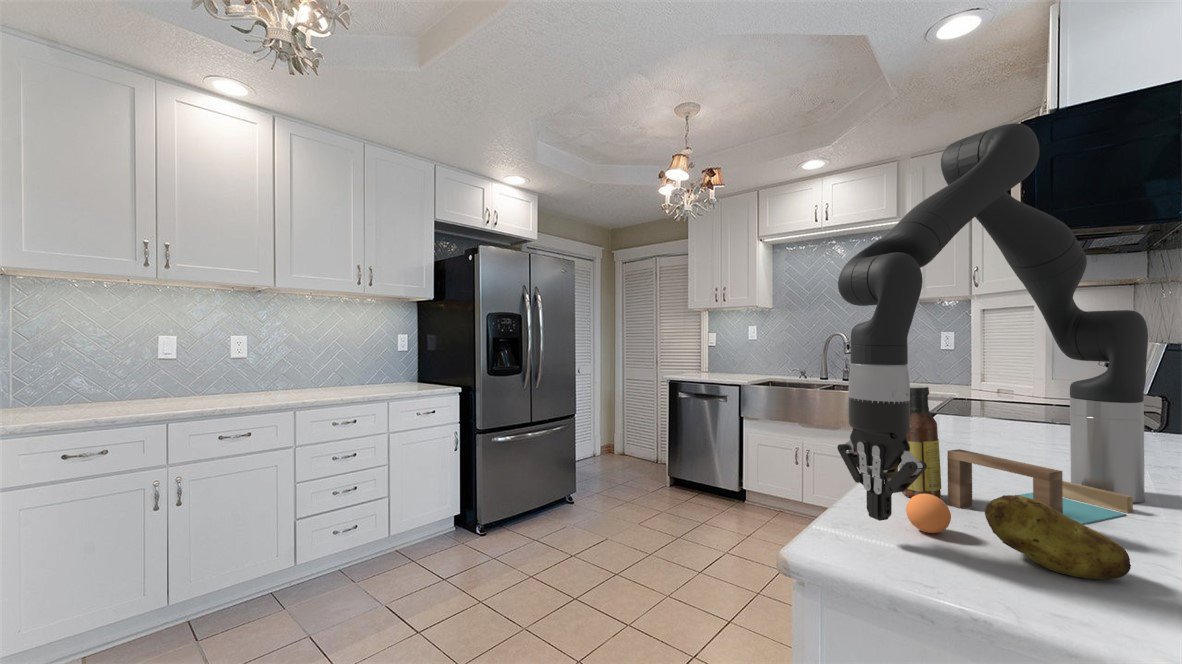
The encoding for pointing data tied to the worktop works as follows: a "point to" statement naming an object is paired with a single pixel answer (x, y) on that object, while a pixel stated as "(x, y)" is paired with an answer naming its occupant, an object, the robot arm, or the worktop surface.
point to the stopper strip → (1098, 497)
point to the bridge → (1044, 479)
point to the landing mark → (1083, 511)
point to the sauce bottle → (923, 444)
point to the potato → (1055, 539)
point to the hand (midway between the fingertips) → (878, 518)
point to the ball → (928, 513)
